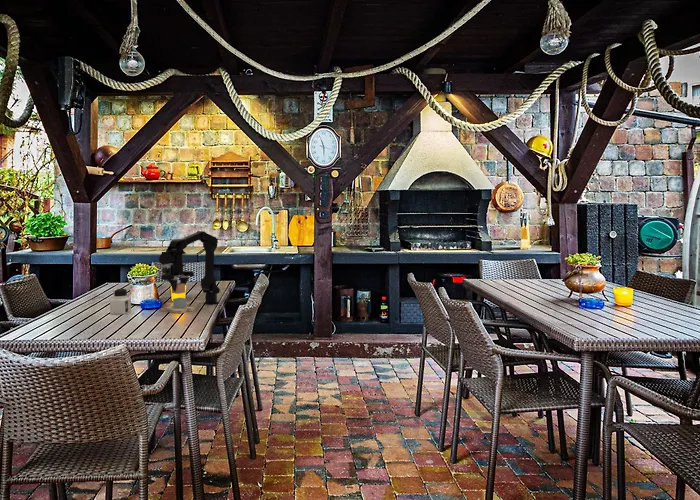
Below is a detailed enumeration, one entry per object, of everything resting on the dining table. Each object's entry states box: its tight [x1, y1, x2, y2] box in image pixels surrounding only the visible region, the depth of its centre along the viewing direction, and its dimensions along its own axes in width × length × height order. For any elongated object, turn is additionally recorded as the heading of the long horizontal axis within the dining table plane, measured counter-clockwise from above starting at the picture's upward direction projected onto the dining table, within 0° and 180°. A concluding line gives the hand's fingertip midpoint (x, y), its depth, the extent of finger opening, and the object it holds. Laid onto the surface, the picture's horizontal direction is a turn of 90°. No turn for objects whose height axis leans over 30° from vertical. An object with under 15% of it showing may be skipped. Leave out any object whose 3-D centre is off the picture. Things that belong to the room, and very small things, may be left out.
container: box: [109, 288, 132, 315], centre depth 292 cm, size 8×8×13 cm
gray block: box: [172, 297, 188, 309], centre depth 300 cm, size 5×5×5 cm
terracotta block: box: [170, 282, 186, 295], centre depth 300 cm, size 5×5×5 cm
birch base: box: [160, 305, 200, 315], centre depth 301 cm, size 14×14×2 cm
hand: (178, 290), depth 300 cm, fingers closed on terracotta block, 5 cm apart
